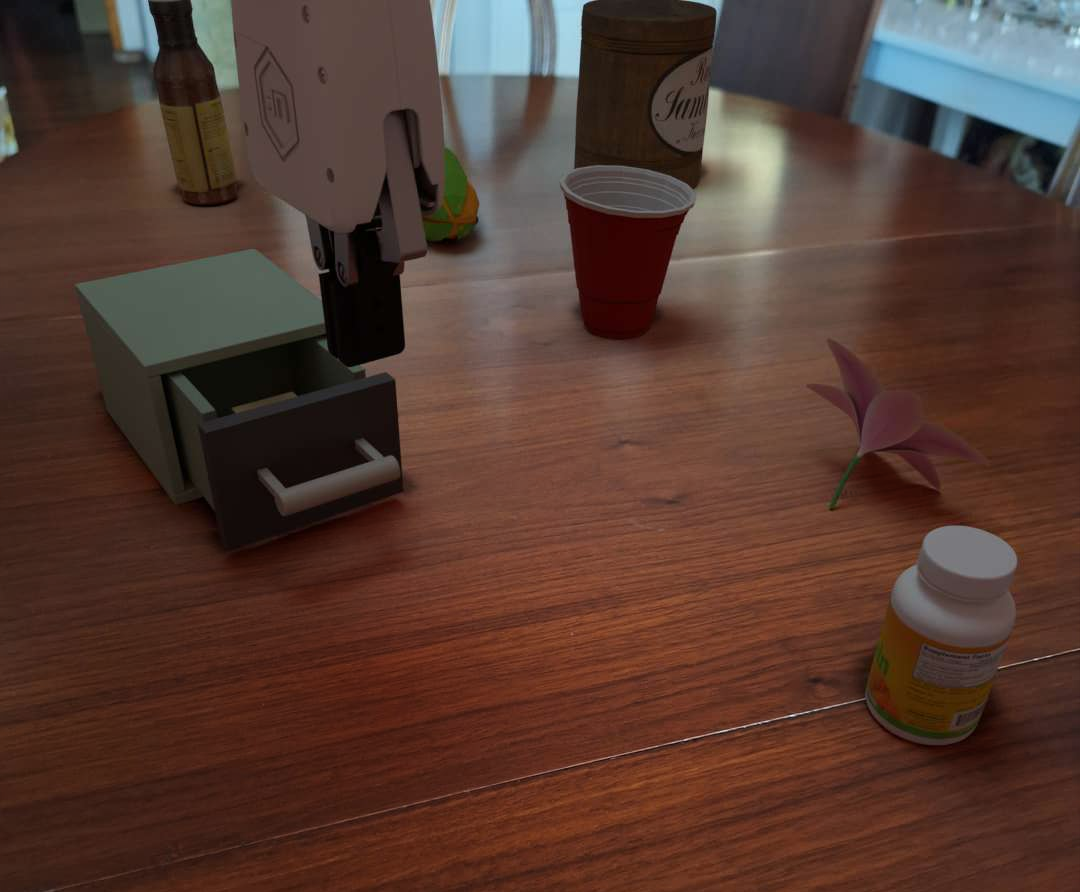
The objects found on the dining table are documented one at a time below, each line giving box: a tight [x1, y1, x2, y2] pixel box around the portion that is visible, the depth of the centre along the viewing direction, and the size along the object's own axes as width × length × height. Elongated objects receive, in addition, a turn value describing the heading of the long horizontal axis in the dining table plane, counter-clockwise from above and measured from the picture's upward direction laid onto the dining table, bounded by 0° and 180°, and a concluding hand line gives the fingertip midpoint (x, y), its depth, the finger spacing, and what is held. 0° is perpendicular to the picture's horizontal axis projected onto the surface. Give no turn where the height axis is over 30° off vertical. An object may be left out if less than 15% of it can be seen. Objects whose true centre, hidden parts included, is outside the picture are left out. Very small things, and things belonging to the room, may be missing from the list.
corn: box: [422, 147, 480, 243], centre depth 106 cm, size 7×8×20 cm
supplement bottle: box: [864, 525, 1018, 746], centre depth 48 cm, size 5×5×10 cm
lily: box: [805, 337, 992, 510], centre depth 65 cm, size 12×12×10 cm
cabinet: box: [74, 248, 326, 506], centre depth 70 cm, size 15×13×10 cm
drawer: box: [160, 334, 404, 552], centre depth 63 cm, size 18×11×8 cm, turn 35°
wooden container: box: [573, 0, 718, 189], centre depth 116 cm, size 15×15×22 cm
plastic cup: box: [559, 165, 698, 340], centre depth 84 cm, size 11×11×12 cm
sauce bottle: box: [147, 0, 238, 206], centre depth 108 cm, size 7×6×20 cm
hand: (367, 353), depth 48 cm, fingers closed
